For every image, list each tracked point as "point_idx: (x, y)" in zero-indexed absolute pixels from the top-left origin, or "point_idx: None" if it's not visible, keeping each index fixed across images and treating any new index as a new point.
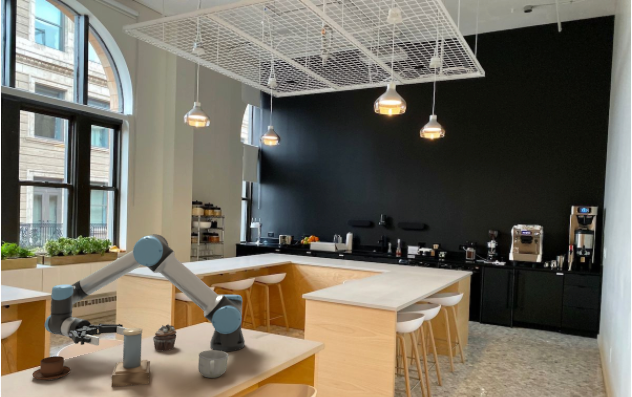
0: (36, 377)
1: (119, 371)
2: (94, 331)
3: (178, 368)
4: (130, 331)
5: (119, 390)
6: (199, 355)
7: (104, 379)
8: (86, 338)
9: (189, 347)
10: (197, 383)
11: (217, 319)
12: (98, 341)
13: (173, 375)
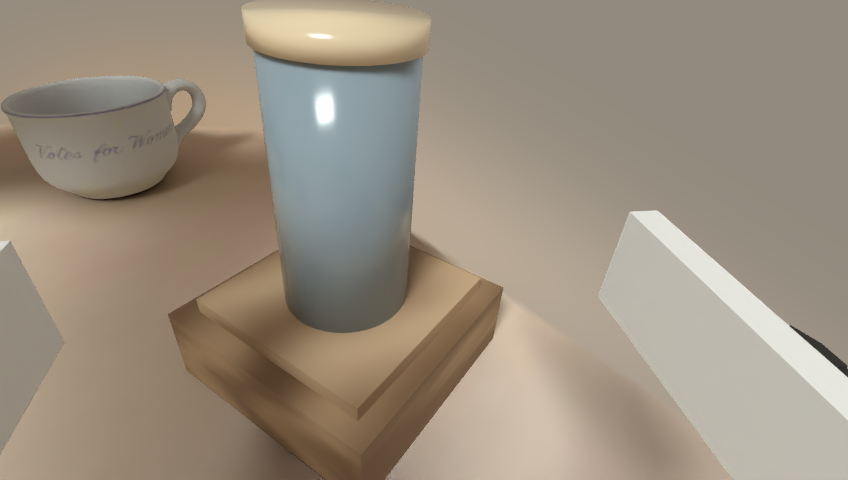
0: None
1: (459, 270)
2: None
3: (62, 301)
4: (383, 10)
5: None
6: (138, 102)
7: (476, 471)
8: (843, 365)
9: None
10: (231, 175)
11: None
12: (621, 257)
13: (188, 258)
